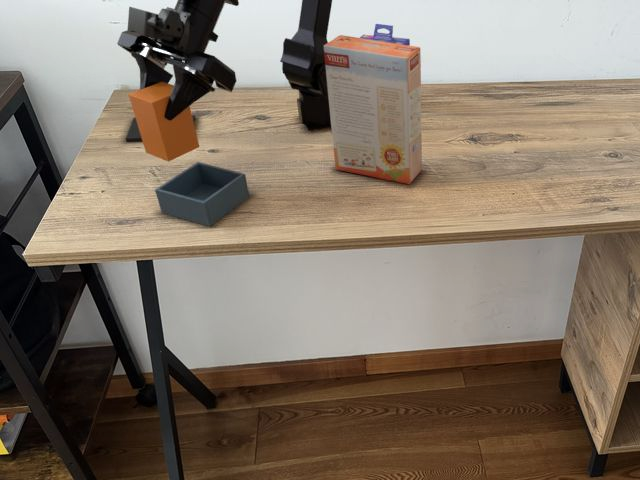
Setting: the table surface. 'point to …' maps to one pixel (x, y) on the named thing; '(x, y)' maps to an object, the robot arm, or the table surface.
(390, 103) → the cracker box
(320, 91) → the robot arm
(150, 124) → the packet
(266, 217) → the table surface
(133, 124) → the mat
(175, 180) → the tote
